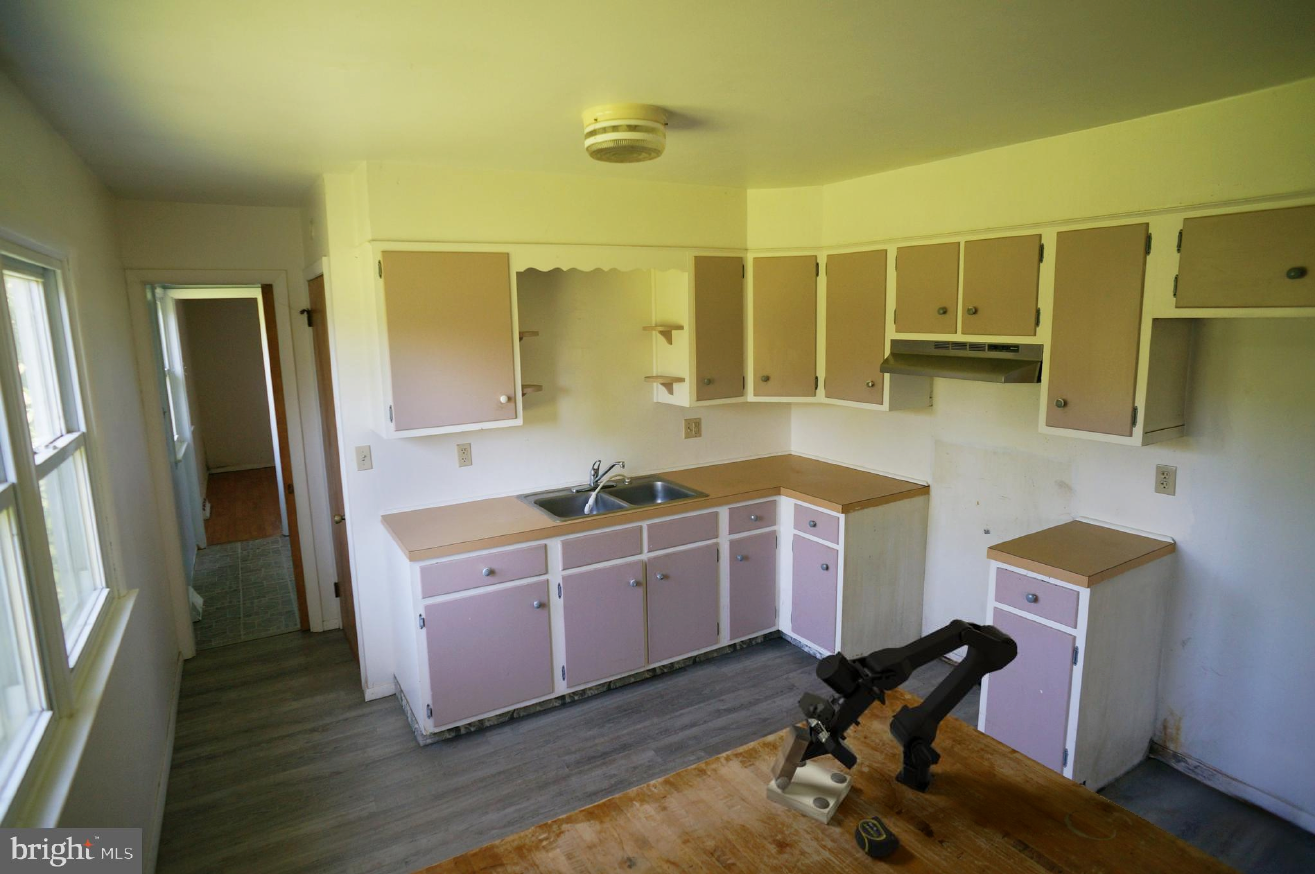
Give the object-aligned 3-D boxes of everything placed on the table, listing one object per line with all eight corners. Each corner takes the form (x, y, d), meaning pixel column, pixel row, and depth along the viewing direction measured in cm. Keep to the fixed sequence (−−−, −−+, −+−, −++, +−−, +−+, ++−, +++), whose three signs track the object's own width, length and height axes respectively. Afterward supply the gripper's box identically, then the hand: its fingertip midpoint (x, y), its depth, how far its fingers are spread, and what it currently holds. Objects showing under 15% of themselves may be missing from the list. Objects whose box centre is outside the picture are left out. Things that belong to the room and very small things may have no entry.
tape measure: (900, 855, 128) (901, 837, 127) (868, 865, 126) (869, 846, 125) (878, 829, 135) (879, 812, 134) (847, 838, 133) (848, 820, 132)
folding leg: (781, 780, 145) (805, 728, 144) (787, 791, 142) (811, 738, 140) (767, 776, 144) (791, 724, 143) (772, 787, 141) (796, 733, 140)
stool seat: (793, 764, 154) (794, 753, 153) (850, 787, 146) (851, 776, 146) (766, 798, 143) (766, 786, 143) (826, 824, 136) (826, 812, 135)
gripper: (807, 659, 150) (757, 712, 150) (843, 708, 131) (786, 768, 132) (841, 689, 152) (792, 740, 153) (881, 740, 134) (825, 799, 134)
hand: (797, 760), depth 143 cm, fingers closed, pressing on folding leg
